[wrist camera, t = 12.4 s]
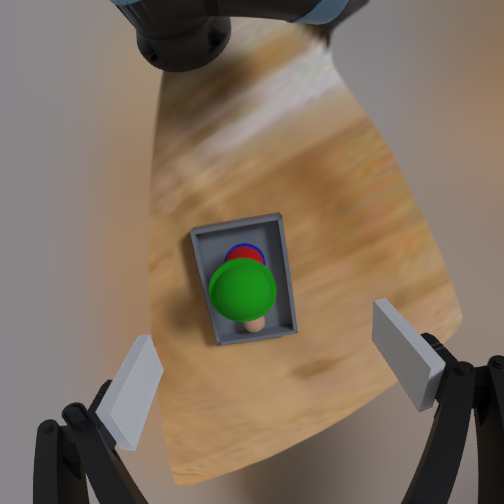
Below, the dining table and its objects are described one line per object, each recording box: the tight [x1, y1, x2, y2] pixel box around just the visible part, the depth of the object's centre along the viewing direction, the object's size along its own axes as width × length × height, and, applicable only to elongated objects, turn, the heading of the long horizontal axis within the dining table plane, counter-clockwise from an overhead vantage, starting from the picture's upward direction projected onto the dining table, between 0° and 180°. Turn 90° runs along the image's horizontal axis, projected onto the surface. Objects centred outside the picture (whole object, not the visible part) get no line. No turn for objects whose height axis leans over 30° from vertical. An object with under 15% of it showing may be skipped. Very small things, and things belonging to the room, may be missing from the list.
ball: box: [243, 316, 265, 332], centre depth 46 cm, size 4×4×4 cm
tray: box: [190, 212, 298, 346], centre depth 45 cm, size 19×13×3 cm
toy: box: [209, 243, 277, 322], centre depth 38 cm, size 8×8×15 cm
